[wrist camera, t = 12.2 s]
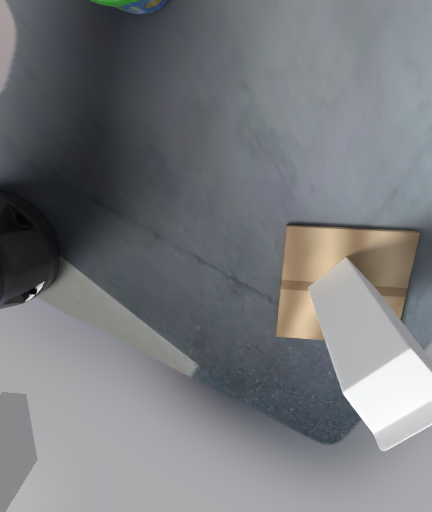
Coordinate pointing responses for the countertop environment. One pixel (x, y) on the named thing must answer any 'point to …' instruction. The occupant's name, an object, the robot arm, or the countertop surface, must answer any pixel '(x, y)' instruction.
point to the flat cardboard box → (331, 253)
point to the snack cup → (134, 5)
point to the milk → (373, 355)
